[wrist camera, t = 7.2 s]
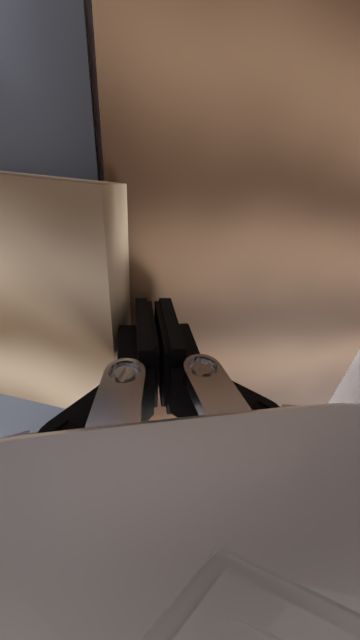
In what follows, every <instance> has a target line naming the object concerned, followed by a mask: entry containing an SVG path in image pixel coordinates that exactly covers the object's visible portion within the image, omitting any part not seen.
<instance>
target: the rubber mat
mask: <svg viewBox="0 0 360 640" xmlns="http://www.w3.org/2000/svg"><path fill="white" fill-rule="evenodd" d="M0 171H10V172H19V173H29V174H39V175H48V176H58V177H68V178H77V179H87V180H97V181H99V174H98V161H97V149H96V137H95V124H94V112H93V99H92V87H91V75H90V62H89V50H88V37H87V25H86V13H85V0H0ZM64 410H65V409H64V408H60V407H56V406H51V405H47V404H43V403H39V402H34V401H30V400H26V399H22V398H17V397H13V396H9V395H5V394H0V438H3V437H6V436H10V435H13V434H17V433H20V432H24V431H28V430H30V431H31V433H34V432H37V431H39V430H40V428H41V427H42V426H44V425H45V424H46V423H47V422H48V421H50V420H51V419H52V418H54V417H55V416H57V415H58V414H59V413H61V412H62V411H64Z"/></svg>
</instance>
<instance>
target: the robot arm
mask: <svg viewBox="0 0 360 640" xmlns="http://www.w3.org/2000/svg"><path fill="white" fill-rule="evenodd" d="M135 305H136V325H120V326H119V338H118V354H117V360H115V361H113V362H111V363H110V364H109V365H107V366H106V368H105V370H104V372H103V375H102V378H101V381H100V384H99V385H98V386H97V387H96V388H94V389H93V390H91V391H90V392H89V393H87V394H86V395H84V396H83V397H82V398H80V399H79V400H77V401H76V402H75V403H73V404H72V405H70V406H69V407H68V408H66V409H65V410H64V411H62V412H61V413H59V414H58V415H57V416H55V417H54V418H52V419H51V420H50V421H48V422H47V423H46V424H45V425H44V426H42V427H41V428H40V430H39V431H37V432H34V433H31V431H30V430H28V431H24V432H20V433H17V434H13V435H10V436H6V437H3V438H0V640H360V404H346V403H334V404H315V405H302V406H297V405H287V404H282V407H280V406H279V405H277V404H276V403H275V402H273V401H272V400H270V399H268V398H266V397H264V396H262V395H260V394H258V393H256V392H254V391H252V390H250V389H248V388H246V387H244V386H242V385H240V384H238V383H236V382H234V381H232V380H231V379H230V377H229V376H228V374H227V373H226V371H225V370H224V368H223V367H222V366H221V364H220V363H219V362H218V361H217V360H216V359H215V358H213V357H212V356H209V355H205V354H200V352H199V350H198V347H197V345H196V342H195V339H194V337H193V334H192V331H191V329H190V326H189V324H188V323H180V324H179V322H178V319H177V316H176V313H175V310H174V307H173V303H172V300H171V298H159V301H155V308H154V313H153V307H152V301H147V298H135ZM158 387H159V395H160V402H161V407H166V411H167V414H173V415H174V416H176V417H177V418H171V419H161V420H152V421H148V420H149V419H150V418H151V417H152V416H153V415H154V408H155V407H158Z"/></svg>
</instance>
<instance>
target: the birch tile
mask: <svg viewBox="0 0 360 640" xmlns="http://www.w3.org/2000/svg"><path fill="white" fill-rule="evenodd" d="M120 325H131V316H130V281H129V246H128V211H127V184H126V183H116V182H107V181H97V180H87V179H77V178H68V177H58V176H48V175H39V174H29V173H19V172H10V171H0V394H5V395H9V396H13V397H17V398H22V399H26V400H30V401H34V402H39V403H43V404H47V405H51V406H56V407H60V408H64V409H66V408H68V407H69V406H70V405H72V404H73V403H75V402H76V401H77V400H79V399H80V398H82V397H83V396H84V395H86V394H87V393H89V392H90V391H91V390H93V389H94V388H96V387H97V386H98V385H99V384H100V381H101V378H102V375H103V372H104V370H105V368H106V366H107V365H109V364H110V363H111V362H113V361H115V360H117V354H118V338H119V326H120Z"/></svg>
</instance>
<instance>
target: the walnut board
mask: <svg viewBox="0 0 360 640" xmlns="http://www.w3.org/2000/svg"><path fill="white" fill-rule="evenodd" d="M92 14H93V28H94V42H95V56H96V70H97V85H98V99H99V113H100V127H101V141H102V155H103V169H104V181H107V182H116V183H126V184H127V211H128V246H129V281H130V316H131V325H136V305H135V298H147V301H152V307H153V313H154V308H155V301H159V298H171V300H172V303H173V307H174V310H175V313H176V316H177V319H178V322H179V324H180V323H188V324H189V326H190V329H191V331H192V334H193V337H194V339H195V342H196V345H197V347H198V350H199V352H200V354H205V355H209V356H212V357H213V358H215V359H216V360H217V361H218V362H219V363H220V364H221V366H222V367H223V368H224V370H225V371H226V373H227V374H228V376H229V377H230V379H231V380H232V381H234V382H236V383H238V384H240V385H242V386H244V387H246V388H248V389H250V390H252V391H254V392H256V393H258V394H260V395H262V396H264V397H266V398H268V399H270V400H272V401H273V402H275V403H276V404H277V405H279V406H280V407H282V404H287V405H297V406H302V405H315V404H328V403H329V401H330V399H331V397H332V396H333V394H334V392H335V390H336V389H337V387H338V385H339V384H340V382H341V380H342V378H343V377H344V375H345V373H346V371H347V370H348V368H349V366H350V365H351V363H352V361H353V359H354V358H355V356H356V354H357V352H358V351H359V349H360V0H92ZM171 418H177V417H176V416H174V415H173V414H167V411H166V407H161V402H160V395H159V387H158V407H155V408H154V415H153V416H152V417H151V418H150V419H149V420H148V421H152V420H161V419H171Z"/></svg>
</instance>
